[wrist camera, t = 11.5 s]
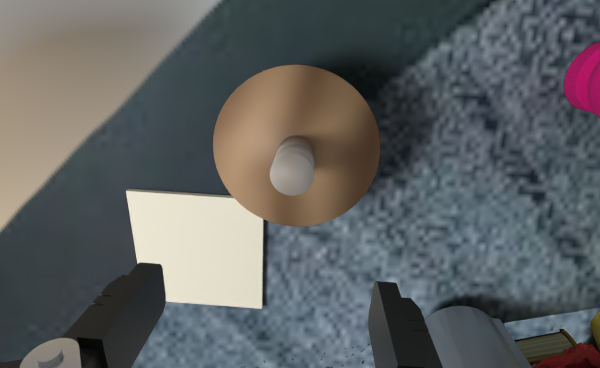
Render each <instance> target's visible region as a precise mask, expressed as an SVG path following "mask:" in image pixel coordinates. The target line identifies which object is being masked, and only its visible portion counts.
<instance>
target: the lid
mask: <svg viewBox="0 0 600 368" xmlns="http://www.w3.org/2000/svg"><path fill="white" fill-rule="evenodd" d="M380 149H381V147H380V135H379V130H378V126H377V123H376V120H375V117H374V115H373V113H372V111H371V109H370V107H369V105H368V104H367V103H366V101H365V100H364V98H363V97H362V96H361V95H360V94H359V92H358V91H357V90H356V89H355V88H354V87H353V86H352V85H350V84H349V83H348V82H347V81H345V80H344V79H343V78H341V77H339V76H338V75H336V74H334V73H332V72H330V71H327V70H325V69H322V68H318V67H314V66H309V65H301V64H300V65H284V66H277V67H274V68H271V69H268V70H265V71H263V72H261V73H259V74H256V75H255V76H253V77H251V78H250V79H248V80H247V81H245V82H244V83H243V84H242V85H240V86H239V87H238V88H237V89H236V90H235V91H234V92H233V93H232V95H231V96H230V97H229V98H228V100H227V101H226V103H225V104H224V106H223V108H222V110H221V112H220V114H219V116H218V119H217V123H216V126H215V131H214V137H213V150H214V159H215V163H216V167H217V170H218V172H219V175H220V177H221V179H222V181H223V183H224V185H225V187H226V188H227V190H228V191H229V192H230V194H231V195H232V196H233V197H234V198H235V199H236V200H237V202H238V203H240V204H241V205H242V206H243V207H244V208H245V209H247V210H248V211H250V212H251V213H253V214H254V215H256V216H258V217H260V218H262V219H264V220H267V221H270V222H272V223H276V224H280V225H286V226H311V225H316V224H321V223H324V222H327V221H330V220H332V219H334V218H336V217H338V216H340V215H342V214H343V213H345V212H346V211H348V210H349V209H351V208H352V207H353V206H354V205H355V204H356V203H357V202H358V201H359V200H360V199H361V198H362V197H363V196H364V194H365V193H366V191H367V190H368V189H369V187H370V185H371V183H372V181H373V179H374V177H375V174H376V172H377V169H378V164H379V160H380Z"/></svg>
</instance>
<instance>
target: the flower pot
mask: <svg viewBox="0 0 600 368" xmlns="http://www.w3.org/2000/svg"><path fill="white" fill-rule="evenodd" d="M590 327H591V330H592V332H593V335H594V338H595V341H596V343H597V346H598V348H599V350H600V310H599V312H598V313H597V314H596V315H595V317H594V318H593V319H592V320H591V323H590Z"/></svg>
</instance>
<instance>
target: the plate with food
mask: <svg viewBox="0 0 600 368" xmlns="http://www.w3.org/2000/svg"><path fill="white" fill-rule="evenodd" d="M531 366H532V368H600V354H599V352H598V351H597V350H596V349H595V348H594V346H593V345H592V344H589V345H585V344H583V343H578V345H577V346H576V348H574V347H570V348H568V349H564V353H563V354H561V355H555V356H549V357H548V358H546V359H544V360H542V361H541V362H537V363H536V362H535V364H532V365H531Z"/></svg>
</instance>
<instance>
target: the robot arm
mask: <svg viewBox="0 0 600 368" xmlns="http://www.w3.org/2000/svg"><path fill="white" fill-rule="evenodd" d="M165 303H166V293H165V284H164V276H163V268H162V265H161V264H155V263H142V262H140V263H138V264H137V265H136V266H135V267H134V269H133V270H132V271H131V272H130V273H129V275H122V276H120V277H119V278H117V279H116V280H114V281H112V282H111V283H109V284H108V285H107V287H106V288H105V289H104V290H103V291H102V292H101V294H100V296H98V297H97V298H96V299H95V300H94V302H93V303H92V305H90V306H89V307H88V308H87V310H86V311H85V312H84V313H83V314H82V315H81V316H80V318H79V319H78V320H77V321H76V322H75V323H74V324H73V326H72V327H71V328H70V329H69V330H68V331H67V332H66V334H65V335H64V336H63V337H62V338H59V339H54V340H51V341H48V342H46V343H44V344H42V345H40V346H38V347H36V348H35V349H34V350H32V351H31V352H30V353H29V354H28V355H27V356H26V357H25V358H24V359H21V360H16V361H10V362H4V363H0V368H131V366H132V365H133V363H134V361H135V360H136V358H137V356H138V354H139V353H140V351H141V349H142V347H143V346H144V344H145V342H146V341H147V339H148V337H149V335H150V334H151V332H152V330H153V328H154V327H155V325H156V323H157V322H158V320H159V318H160V316H161V315H162V313H163V310H164V307H165ZM368 325H369V334H370V340H371V345H372V351H373V356H374V362H375V367H376V368H532V366H531V365H530V363H529V362H528V360H527V359H526V357H525V356H524V354H523V353H522V351H521V350H520V348H519V347H518V345H517V344H516V342H515V341H514V339H513V338H512V336H511V335H510V333H509V332H508V330H507V329H506V327H505V326H504V324H503V323H502V321H501V320H500V319H495V318H491V317H490V316H488V315H487V314H486V313H485V312H483V311H481V310H479V309H477V308H473V307H469V306H452V307H447V308H443V309H441V310H439V311H436V312H434V313H433V314H431V315H430V316H428V317H427V318H426V319H425V320H424V317H423V315H422V312H421V310H420V308H419V307H418V306H417V305H416V304H415V303H414V302H413V300H412V299H411V298H401V295H400V292H399V289H398V286H397V284H396V283H392V282H379V281H375V283H374V287H373V293H372V298H371V304H370V310H369V318H368Z"/></svg>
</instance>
